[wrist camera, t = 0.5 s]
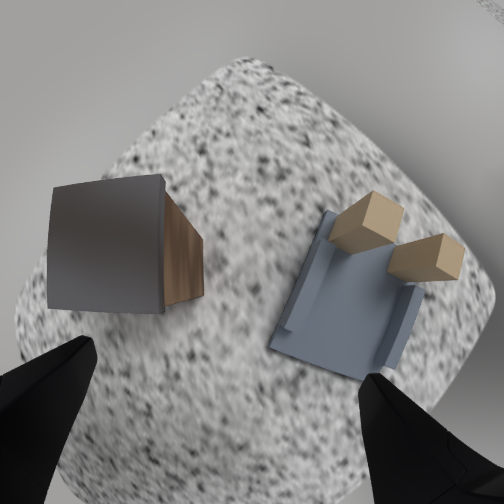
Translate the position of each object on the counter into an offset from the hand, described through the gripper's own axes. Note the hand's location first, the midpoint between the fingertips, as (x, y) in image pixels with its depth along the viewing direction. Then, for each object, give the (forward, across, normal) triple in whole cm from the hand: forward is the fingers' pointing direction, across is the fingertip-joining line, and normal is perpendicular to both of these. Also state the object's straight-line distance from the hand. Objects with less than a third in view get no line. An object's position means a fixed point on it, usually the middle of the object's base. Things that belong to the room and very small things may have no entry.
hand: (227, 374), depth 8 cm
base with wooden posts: (+14, -10, +5) cm, 18 cm away
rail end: (+14, +5, +4) cm, 16 cm away
